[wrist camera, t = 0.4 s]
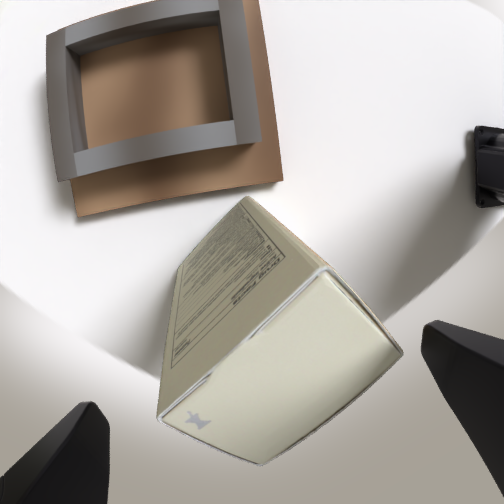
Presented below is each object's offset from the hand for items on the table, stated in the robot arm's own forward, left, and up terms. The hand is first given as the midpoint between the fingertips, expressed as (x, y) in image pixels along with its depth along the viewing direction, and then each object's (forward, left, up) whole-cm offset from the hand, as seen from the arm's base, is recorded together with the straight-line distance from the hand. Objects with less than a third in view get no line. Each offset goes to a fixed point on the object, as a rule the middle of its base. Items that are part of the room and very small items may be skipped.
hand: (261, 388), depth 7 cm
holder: (+2, -9, -12) cm, 16 cm away
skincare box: (-1, +1, -13) cm, 13 cm away
